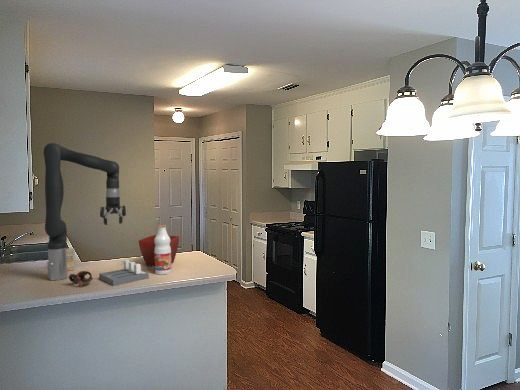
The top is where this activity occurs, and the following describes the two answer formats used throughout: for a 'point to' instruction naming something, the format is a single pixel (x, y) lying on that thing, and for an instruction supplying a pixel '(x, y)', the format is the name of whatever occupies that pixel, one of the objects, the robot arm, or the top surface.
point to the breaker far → (126, 264)
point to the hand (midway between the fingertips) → (113, 224)
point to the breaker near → (137, 268)
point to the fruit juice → (162, 251)
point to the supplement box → (70, 259)
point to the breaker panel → (122, 276)
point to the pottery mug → (80, 278)
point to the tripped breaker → (131, 266)
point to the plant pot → (149, 245)
